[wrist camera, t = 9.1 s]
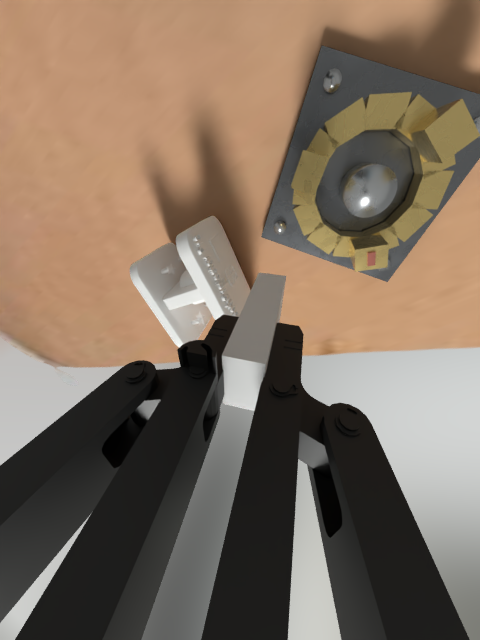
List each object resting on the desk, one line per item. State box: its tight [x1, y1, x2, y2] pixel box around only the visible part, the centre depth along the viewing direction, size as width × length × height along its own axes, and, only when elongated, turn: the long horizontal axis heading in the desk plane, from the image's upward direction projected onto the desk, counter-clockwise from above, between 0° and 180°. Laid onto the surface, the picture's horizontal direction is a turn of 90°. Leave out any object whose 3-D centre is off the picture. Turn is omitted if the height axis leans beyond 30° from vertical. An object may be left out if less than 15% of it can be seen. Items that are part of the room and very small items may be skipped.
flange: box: [261, 46, 480, 282], centre depth 25 cm, size 18×18×7 cm
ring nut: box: [290, 92, 480, 272], centre depth 23 cm, size 14×14×7 cm
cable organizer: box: [130, 216, 251, 348], centre depth 34 cm, size 15×11×12 cm
